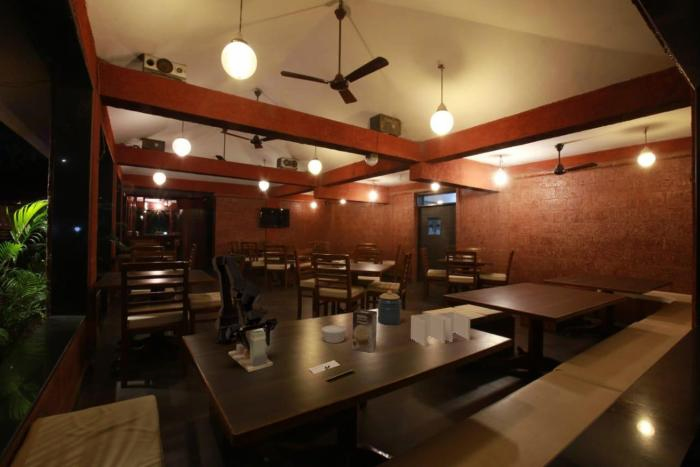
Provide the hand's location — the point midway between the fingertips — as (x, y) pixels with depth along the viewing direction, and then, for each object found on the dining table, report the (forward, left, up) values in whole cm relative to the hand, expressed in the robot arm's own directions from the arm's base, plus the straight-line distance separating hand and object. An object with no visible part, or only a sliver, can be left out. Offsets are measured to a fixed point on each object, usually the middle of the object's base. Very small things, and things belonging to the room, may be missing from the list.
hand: (259, 348), depth 115 cm
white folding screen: (+64, +52, -7) cm, 82 cm away
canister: (+37, +73, -7) cm, 82 cm away
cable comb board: (-7, +5, -7) cm, 11 cm away
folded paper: (+26, +4, -8) cm, 28 cm away
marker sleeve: (-1, +1, -6) cm, 6 cm away
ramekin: (+17, +36, -7) cm, 41 cm away
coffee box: (+33, +29, -7) cm, 44 cm away
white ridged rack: (-7, +5, -7) cm, 11 cm away
